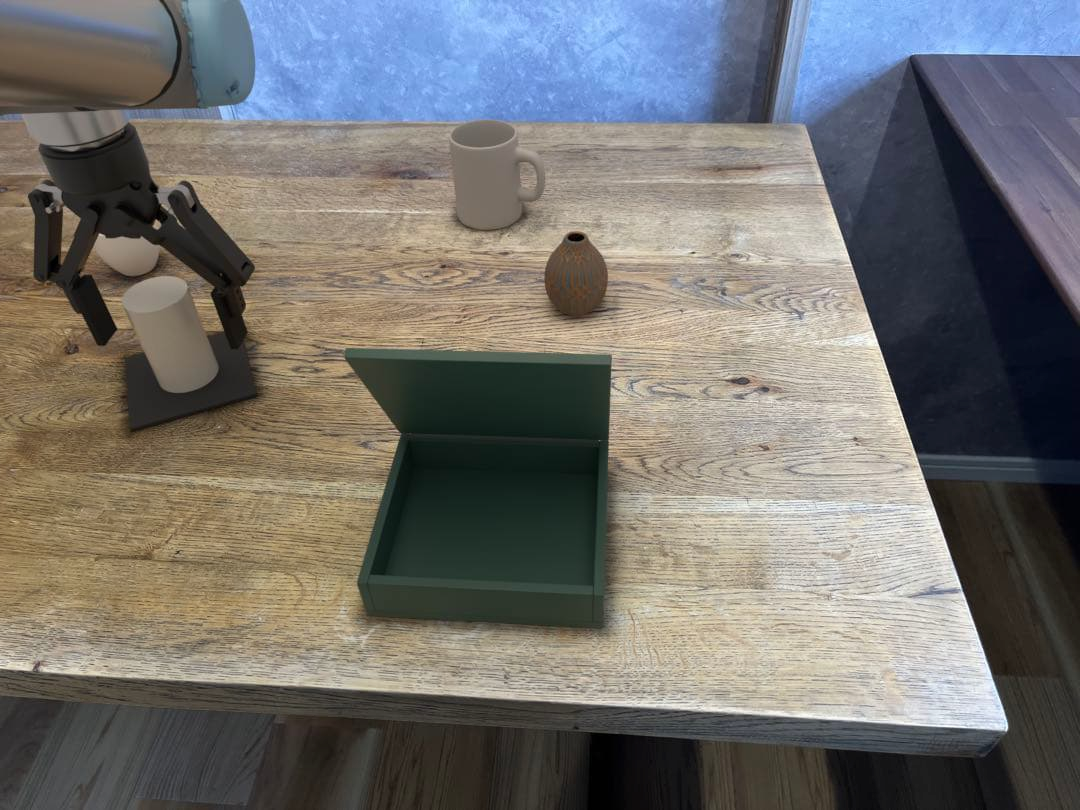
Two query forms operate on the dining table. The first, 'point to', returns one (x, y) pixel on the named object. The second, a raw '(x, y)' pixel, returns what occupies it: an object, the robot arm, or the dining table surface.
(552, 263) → the vase
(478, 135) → the mug
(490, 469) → the box
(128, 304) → the beige cylinder
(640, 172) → the dining table surface
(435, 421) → the lid
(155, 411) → the mat
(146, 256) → the cup
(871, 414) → the dining table surface
